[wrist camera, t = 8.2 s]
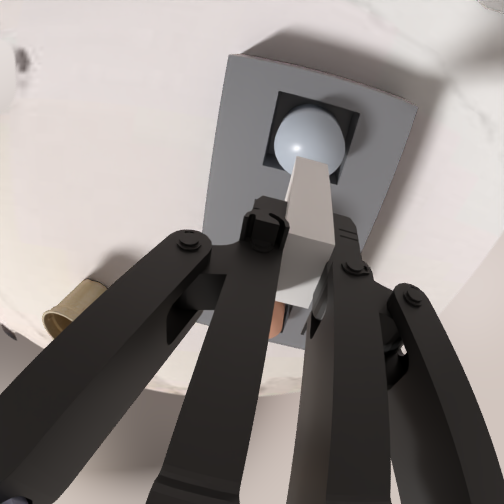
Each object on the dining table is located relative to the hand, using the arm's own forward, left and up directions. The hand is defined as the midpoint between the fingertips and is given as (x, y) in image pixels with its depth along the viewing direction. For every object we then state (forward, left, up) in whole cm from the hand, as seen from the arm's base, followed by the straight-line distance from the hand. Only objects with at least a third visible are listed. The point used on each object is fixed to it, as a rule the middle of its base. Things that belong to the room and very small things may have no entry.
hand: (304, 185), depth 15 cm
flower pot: (+29, -23, -14) cm, 39 cm away
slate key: (0, 0, -11) cm, 11 cm away
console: (+9, 0, -13) cm, 16 cm away
